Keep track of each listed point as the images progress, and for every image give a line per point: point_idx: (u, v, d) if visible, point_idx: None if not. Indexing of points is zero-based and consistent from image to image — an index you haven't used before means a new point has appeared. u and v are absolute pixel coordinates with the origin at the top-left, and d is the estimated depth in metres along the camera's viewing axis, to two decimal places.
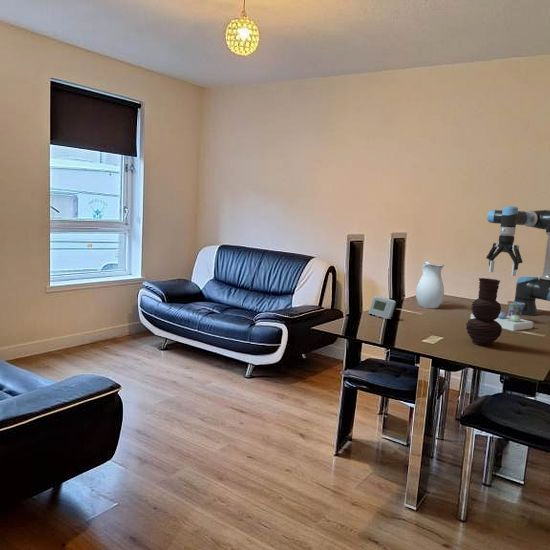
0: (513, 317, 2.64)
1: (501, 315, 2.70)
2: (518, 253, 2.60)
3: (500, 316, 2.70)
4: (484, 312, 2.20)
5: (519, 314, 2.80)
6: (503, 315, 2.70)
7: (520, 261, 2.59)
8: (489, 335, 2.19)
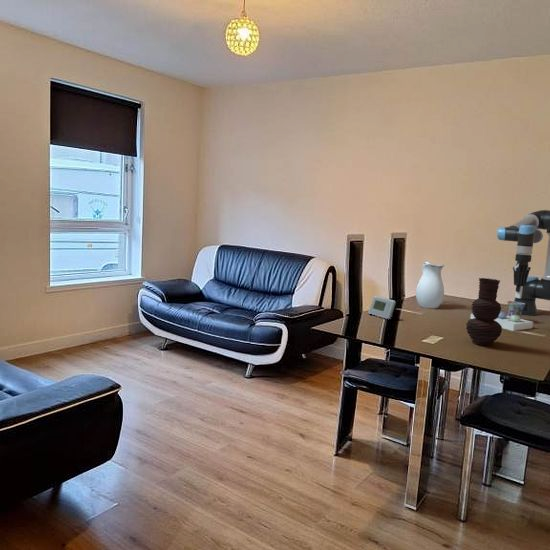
0: (513, 317, 2.64)
1: (501, 315, 2.70)
2: (515, 275, 2.60)
3: (500, 316, 2.70)
4: (484, 312, 2.20)
5: (519, 314, 2.80)
6: (503, 315, 2.70)
7: (515, 283, 2.61)
8: (489, 335, 2.19)
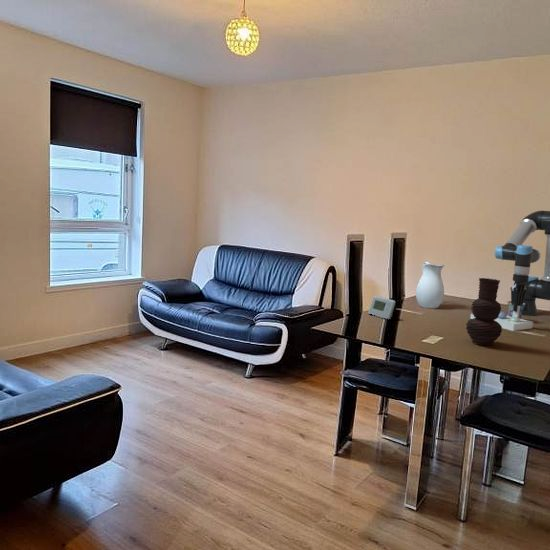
0: (513, 319, 2.64)
1: (501, 315, 2.70)
2: (513, 295, 2.61)
3: (500, 316, 2.70)
4: (484, 312, 2.20)
5: (519, 314, 2.80)
6: (503, 315, 2.70)
7: (512, 303, 2.62)
8: (489, 335, 2.19)
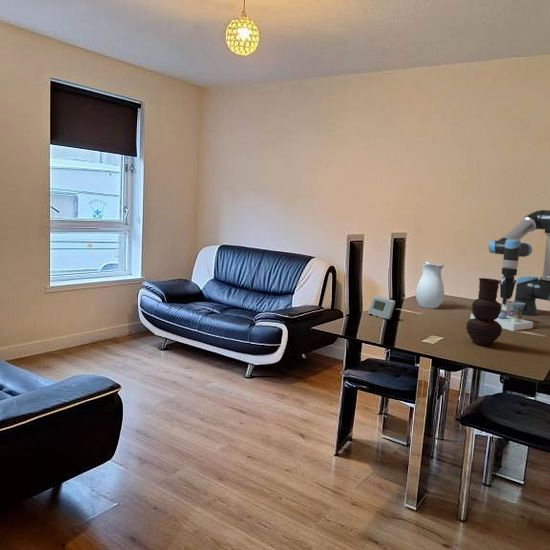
0: (513, 320, 2.64)
1: (501, 315, 2.70)
2: (502, 288, 2.66)
3: (500, 316, 2.70)
4: (484, 312, 2.20)
5: (519, 314, 2.80)
6: (503, 315, 2.70)
7: (501, 296, 2.68)
8: (489, 335, 2.19)
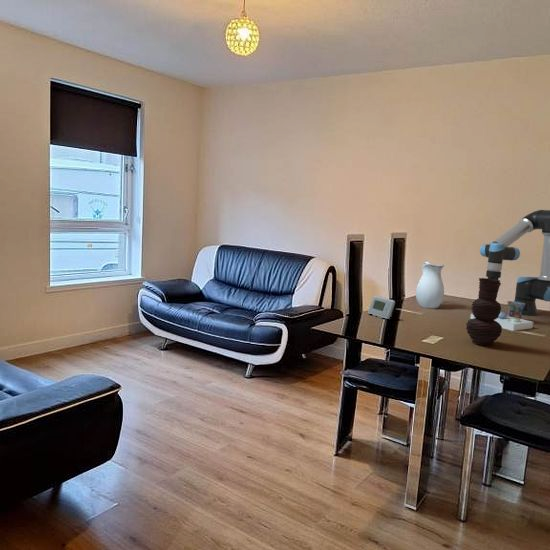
0: (513, 320, 2.64)
1: (501, 315, 2.70)
2: None
3: (500, 316, 2.70)
4: (484, 312, 2.20)
5: (519, 314, 2.80)
6: (503, 315, 2.70)
7: None
8: (489, 335, 2.19)
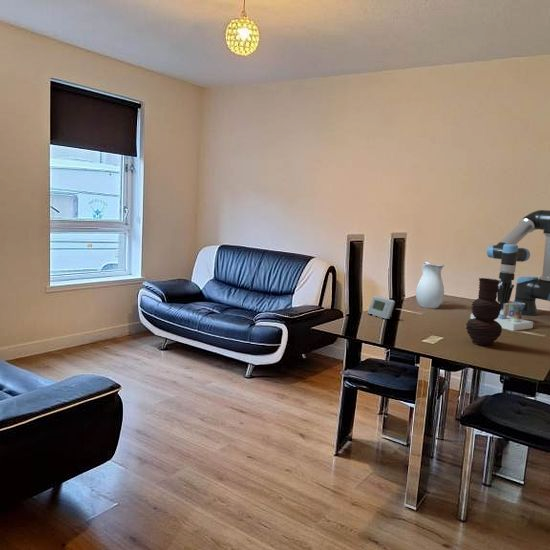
0: (513, 320, 2.64)
1: (501, 317, 2.70)
2: (499, 293, 2.68)
3: (500, 318, 2.70)
4: (484, 312, 2.20)
5: (519, 314, 2.80)
6: (503, 317, 2.70)
7: (498, 300, 2.69)
8: (489, 335, 2.19)
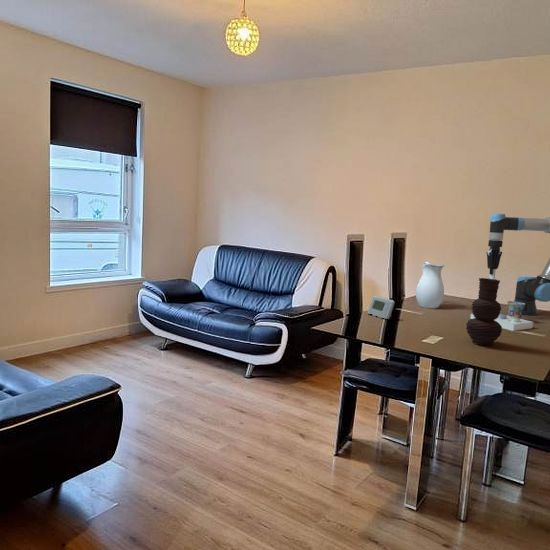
0: (513, 320, 2.64)
1: (501, 318, 2.70)
2: (489, 259, 2.85)
3: None
4: (484, 312, 2.20)
5: (519, 314, 2.80)
6: (503, 318, 2.70)
7: (488, 267, 2.87)
8: (489, 335, 2.19)
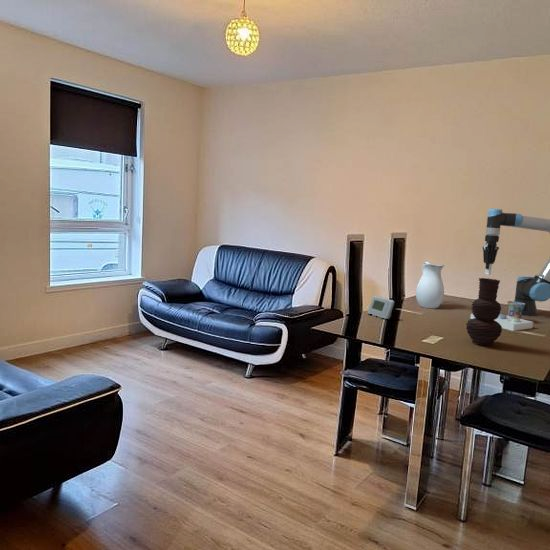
0: (513, 320, 2.64)
1: (501, 318, 2.70)
2: (485, 254, 2.90)
3: None
4: (484, 312, 2.20)
5: (519, 314, 2.80)
6: (503, 318, 2.70)
7: (484, 261, 2.92)
8: (489, 335, 2.19)
